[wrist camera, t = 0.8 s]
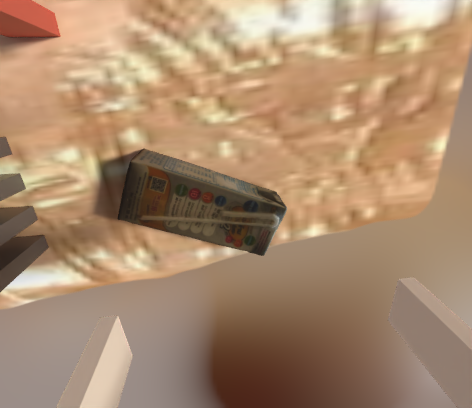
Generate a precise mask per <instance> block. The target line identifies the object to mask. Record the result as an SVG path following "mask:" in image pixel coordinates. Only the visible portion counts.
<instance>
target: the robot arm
mask: <svg viewBox="0 0 472 408" xmlns="http://www.w3.org/2000/svg"><path fill="white" fill-rule="evenodd" d="M388 321H389V322H390V323H391V325H392V326H393V327H394V329H395V330H396V331H397V332H398V334H399V335H400V336H401V337H402V339H403V340H404V341H405V343H406V344H407V345H408V346H409V348H410V349H411V350H412V351H413V353H414V354H415V355H416V356H417V358H418V359H419V360H420V361H421V363H422V364H423V365H424V366H425V368H426V369H427V370H428V371H429V373H430V374H431V375H432V377H433V378H434V379H435V380H436V382H437V383H438V384H439V385H440V387H441V388H442V389H443V390H444V392H445V393H446V394H447V395H448V397H449V398H450V399H451V400H452V402H453V403H454V404H455V405H456V407H457V408H472V329H471V328H470V327H469V326H468V325H467V324H466V323H465V322H464V321H462V320H461V319H460V318H459V317H458V316H457V315H456V314H455V313H453V312H452V311H451V310H450V309H449V308H448V307H447V306H446V305H444V304H443V303H442V302H441V301H440V300H439V299H438V298H437V297H435V296H434V295H433V294H432V293H431V292H430V291H428V289H426V288H425V287H424V286H423V285H422V284H421V283H420V282H418V281H417V280H416V279H415V278H414V277H411V278H404V279H398V283H397V287H396V291H395V295H394V299H393V302H392V307H391V310H390V314H389V318H388ZM131 360H132V353H131V350H130V347H129V345H128V342H127V339H126V337H125V334H124V331H123V328H122V326H121V323H120V320H119V317H118V316H117V315H116V316H108V317H101V318H100V319H99V321H98V323H97V325H96V327H95V329H94V331H93V333H92V335H91V337H90V339H89V341H88V343H87V345H86V347H85V350H84V351H83V353H82V356H81V358H80V360H79V362H78V364H77V366H76V368H75V370H74V372H73V374H72V376H71V378H70V380H69V382H68V384H67V387H66V388H65V390H64V393H63V394H62V396H61V399H60V401H59V403H58V405H57V407H56V408H118V404H119V401H120V398H121V394H122V391H123V387H124V384H125V381H126V377H127V374H128V370H129V367H130V363H131Z"/></svg>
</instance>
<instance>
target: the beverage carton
mask: <svg viewBox="0 0 472 408" xmlns="http://www.w3.org/2000/svg"><path fill="white" fill-rule="evenodd" d="M286 211H287V207H286V206H285V204H284V203H283V202H282V200H281V198H280V196H279V195H278V194H277V192H275V191H272V190H269V189H266V188H262V187H259V186H256V185H253V184H250V183H247V182H244V181H242V180H238V179H235V178H232V177H229V176H226V175H223V174H220V173H217V172H215V171H212V170H209V169H206V168H203V167H200V166H197V165H194V164H191V163H188V162H185V161H182V160H179V159H175V158H172V157H169V156H166V155H163V154H159V153H157V152H153V151H149V150H146V149H143V150H142V151H141V152H140V153H139V154H137V155H136V156H135V157H134V158H133V159H132V160H131V162H130V165H129V168H128V172H127V175H126V180H125V184H124V189H123V193H122V199H121V204H120V209H119V214H118V220H124V221H128V222H131V223H134V224H138V225H143V226H147V227H151V228H154V229H158V230H162V231H166V232H170V233H175V234H179V235H183V236H187V237H191V238H195V239H199V240H202V241H207V242H211V243H214V244H218V245H222V246H227V247H231V248H235V249H239V250H244V251H248V252H250V253H254V254H258V255H261V256H262V255H264V254H265V253H266V251H267V249H268V247H269V245H270V243H271V240H272V238H273V236H274V234H275V232H276V230H277V229H278V227H279V224H280V223H281V221H282V219H283V217H284V215H285V213H286Z"/></svg>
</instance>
